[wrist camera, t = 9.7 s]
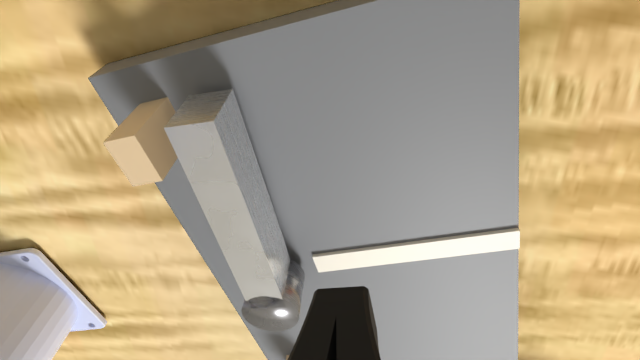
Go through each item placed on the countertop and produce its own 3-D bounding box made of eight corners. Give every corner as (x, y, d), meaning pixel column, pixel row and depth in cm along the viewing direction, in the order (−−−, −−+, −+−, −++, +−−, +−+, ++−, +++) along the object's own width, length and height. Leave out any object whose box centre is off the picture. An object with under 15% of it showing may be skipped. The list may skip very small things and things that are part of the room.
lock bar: (309, 289, 22) (304, 330, 20) (260, 291, 23) (250, 332, 21) (245, 86, 15) (227, 119, 13) (177, 97, 16) (150, 129, 14)
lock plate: (285, 362, 31) (275, 427, 27) (106, 63, 17) (40, 114, 14) (511, 347, 27) (533, 419, 24) (506, -46, 14) (555, -17, 10)
